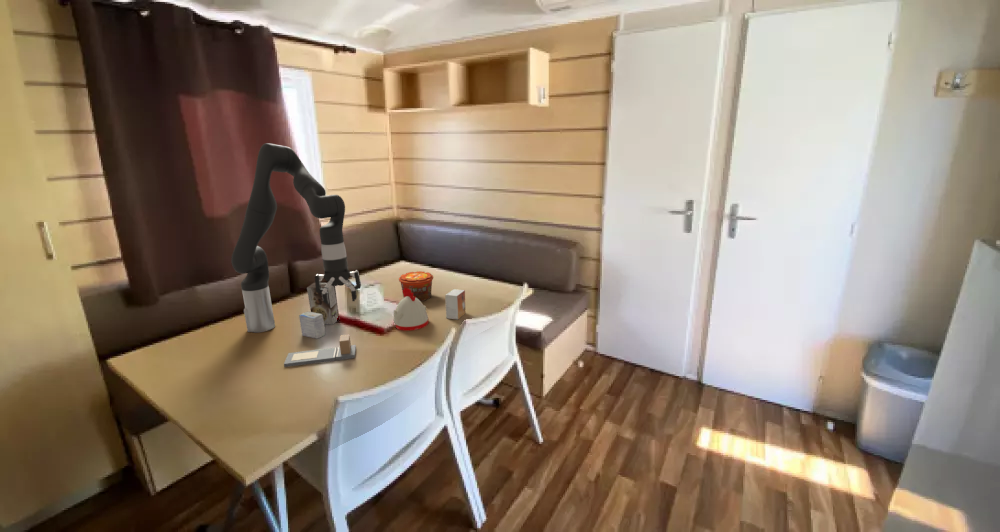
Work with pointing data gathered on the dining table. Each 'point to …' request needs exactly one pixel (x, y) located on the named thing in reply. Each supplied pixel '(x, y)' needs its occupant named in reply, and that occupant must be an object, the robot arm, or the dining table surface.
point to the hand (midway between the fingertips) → (340, 302)
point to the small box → (455, 304)
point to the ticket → (310, 357)
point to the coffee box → (322, 308)
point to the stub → (345, 348)
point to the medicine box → (312, 324)
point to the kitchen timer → (410, 313)
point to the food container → (417, 284)
